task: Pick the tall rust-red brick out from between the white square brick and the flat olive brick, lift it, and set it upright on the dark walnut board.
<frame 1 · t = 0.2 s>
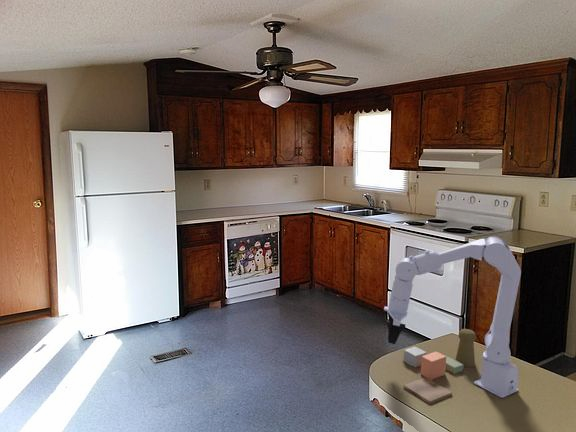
hand: (391, 337, 147), 11 cm above the counter, tool pointing down, fingers open, 7 cm apart
flat olive brick: (450, 368, 150), on the counter
walnut board: (427, 391, 136), on the counter
white square brick: (414, 362, 154), on the counter
cork: (465, 362, 154), on the counter
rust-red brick: (432, 374, 146), on the counter
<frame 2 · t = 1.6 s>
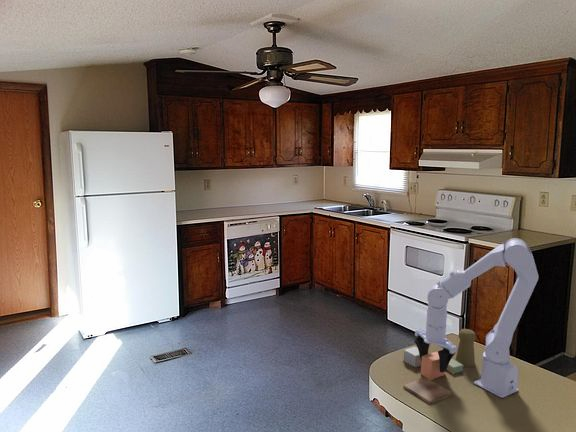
hand: (433, 365, 146), 3 cm above the counter, tool pointing down, fingers open, 7 cm apart
nothing on the counter moved.
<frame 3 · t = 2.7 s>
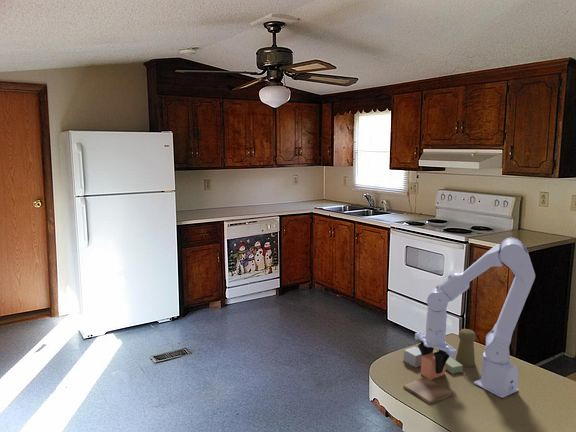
hand: (433, 369, 146), 2 cm above the counter, tool pointing down, fingers closed on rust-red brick, 4 cm apart
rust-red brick: (432, 374, 146), on the counter, touching gripper
everything else where it was.
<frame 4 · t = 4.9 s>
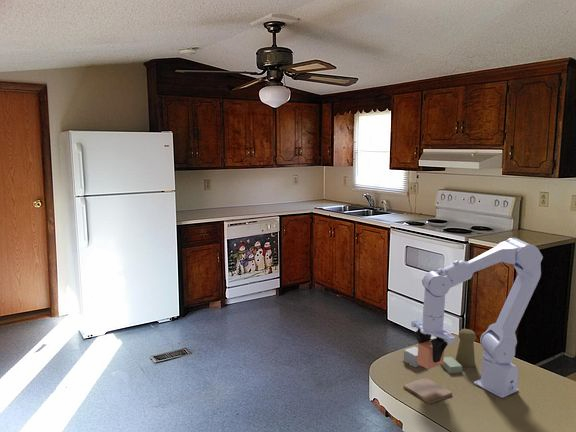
hand: (430, 358, 137), 9 cm above the counter, tool pointing down, fingers closed on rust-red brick, 4 cm apart
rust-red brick: (430, 363, 138), point 7 cm above the counter, touching gripper
everything else where it was.
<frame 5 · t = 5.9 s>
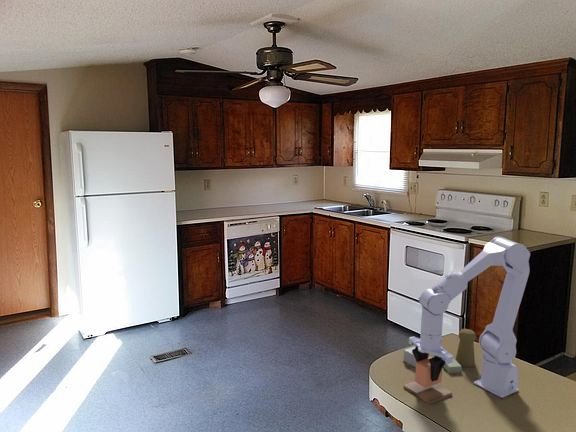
hand: (428, 376, 136), 5 cm above the counter, tool pointing down, fingers closed on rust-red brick, 4 cm apart
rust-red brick: (428, 381, 136), point 3 cm above the counter, touching gripper
everything else where it was.
when the fingers open (4 cm above the counter, at t = 6.9 s): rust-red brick drops 1 cm, resting on walnut board.
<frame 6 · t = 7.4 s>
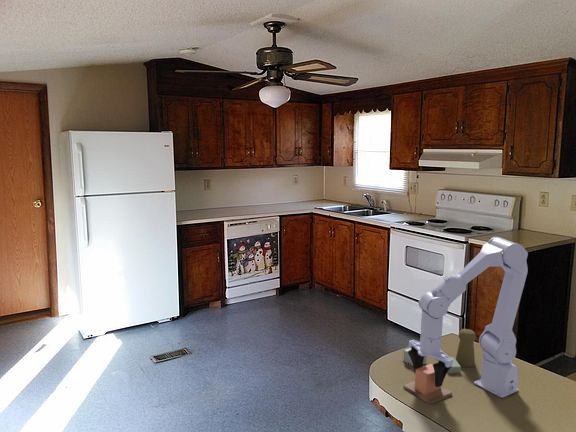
hand: (428, 379, 136), 4 cm above the counter, tool pointing down, fingers open, 7 cm apart
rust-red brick: (427, 388, 136), point 1 cm above the counter, touching walnut board
everything else where it was.
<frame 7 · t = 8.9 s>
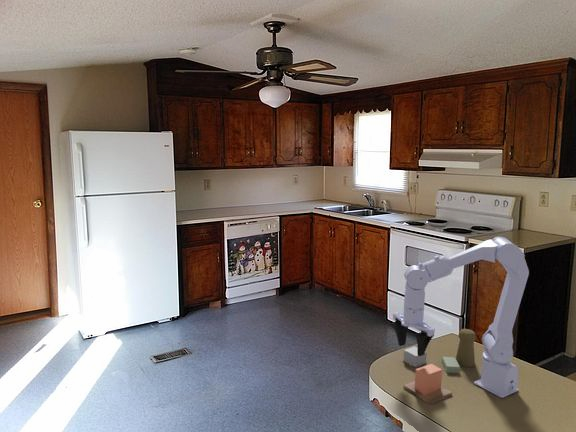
hand: (411, 349, 141), 10 cm above the counter, tool pointing down, fingers open, 7 cm apart
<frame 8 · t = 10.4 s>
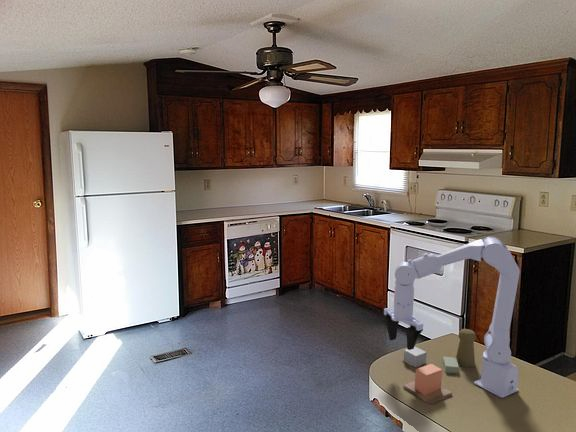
hand: (401, 344, 145), 9 cm above the counter, tool pointing down, fingers open, 7 cm apart
at the end: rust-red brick 0.0 cm from the walnut board (horizontally); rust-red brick tilted 0°; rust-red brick touching walnut board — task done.
